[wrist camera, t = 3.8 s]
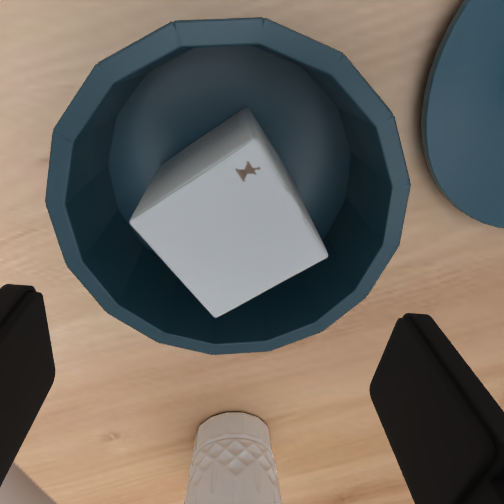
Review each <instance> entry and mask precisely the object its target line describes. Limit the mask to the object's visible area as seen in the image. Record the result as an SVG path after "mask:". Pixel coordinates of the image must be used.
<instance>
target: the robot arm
mask: <svg viewBox="0 0 504 504" xmlns="http://www.w3.org/2000/svg"><path fill="white" fill-rule="evenodd" d="M54 378H55V365H54V359H53V353H52V347H51V341H50V335H49V329H48V323H47V318H46V312H45V306H44V300H43V295H42V294H41V293H40V292H36V290H35V288H34V287H33V286H27V285H13V284H6V285H4V286H3V287H2V288H1V289H0V486H1V484H2V482H3V480H4V478H5V476H6V474H7V473H8V471H9V468H10V467H11V465H12V463H13V461H14V459H15V457H16V455H17V453H18V451H19V449H20V447H21V445H22V443H23V441H24V439H25V437H26V435H27V433H28V431H29V429H30V427H31V426H32V424H33V422H34V420H35V418H36V416H37V414H38V412H39V410H40V408H41V406H42V404H43V402H44V400H45V398H46V396H47V394H48V392H49V390H50V388H51V386H52V384H53V382H54ZM370 396H371V399H372V402H373V404H374V406H375V409H376V411H377V414H378V416H379V418H380V421H381V423H382V426H383V428H384V430H385V433H386V435H387V438H388V440H389V442H390V445H391V447H392V450H393V452H394V454H395V457H396V459H397V462H398V464H399V466H400V469H401V471H402V474H403V476H404V478H405V481H406V483H407V486H408V488H409V490H410V493H411V495H412V498H413V500H414V502H415V504H504V412H503V410H502V409H501V408H500V406H499V405H498V404H497V402H496V401H495V400H494V399H493V397H492V396H491V395H490V393H489V392H488V391H487V389H486V388H485V387H484V385H483V384H482V383H481V382H480V380H479V379H478V378H477V376H476V375H475V374H474V372H473V371H472V370H471V368H470V367H469V366H468V364H467V363H466V362H465V361H464V359H463V358H462V357H461V355H460V354H459V353H458V351H457V350H456V349H455V347H454V346H453V345H452V344H451V342H450V341H449V340H448V338H447V337H446V336H445V334H444V333H443V332H442V330H441V329H440V328H439V327H438V325H437V324H436V323H435V321H434V320H433V319H432V318H431V317H430V316H429V315H427V314H414V313H407V314H405V315H404V316H403V318H399V319H398V320H397V322H396V324H395V327H394V329H393V332H392V334H391V336H390V339H389V341H388V343H387V346H386V348H385V350H384V353H383V355H382V358H381V360H380V362H379V365H378V367H377V369H376V372H375V374H374V377H373V379H372V381H371V384H370Z"/></svg>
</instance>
